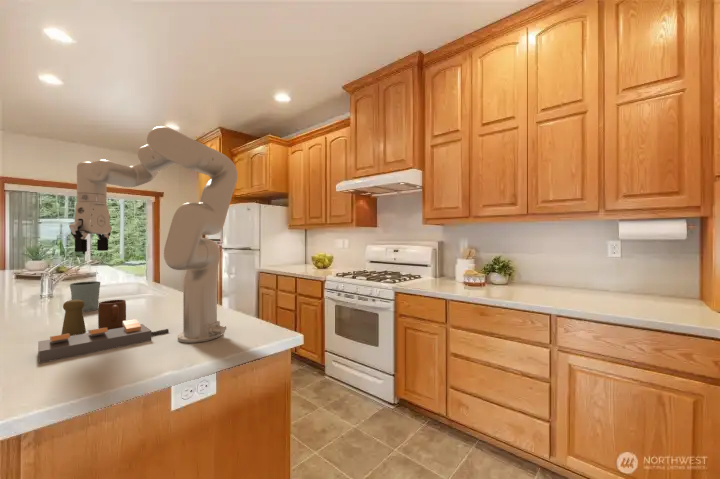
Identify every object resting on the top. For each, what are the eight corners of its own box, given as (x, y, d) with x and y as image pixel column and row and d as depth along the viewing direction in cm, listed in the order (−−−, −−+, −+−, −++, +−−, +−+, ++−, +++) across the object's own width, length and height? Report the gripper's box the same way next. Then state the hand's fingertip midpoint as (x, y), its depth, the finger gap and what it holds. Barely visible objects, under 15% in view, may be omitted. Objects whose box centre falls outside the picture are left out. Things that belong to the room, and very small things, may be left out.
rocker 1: (68, 340, 88) (67, 333, 88) (69, 340, 84) (69, 333, 84) (50, 343, 85) (50, 336, 85) (51, 343, 81) (51, 336, 81)
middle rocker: (104, 333, 93) (104, 327, 94) (107, 333, 89) (107, 327, 90) (88, 336, 91) (88, 330, 91) (91, 336, 87) (91, 330, 87)
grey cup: (96, 306, 144) (96, 280, 143) (103, 309, 138) (103, 282, 138) (67, 310, 135) (67, 283, 135) (73, 313, 129) (73, 285, 129)
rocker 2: (136, 324, 99) (136, 318, 99) (140, 331, 95) (141, 326, 95) (122, 326, 97) (122, 321, 97) (126, 334, 93) (126, 328, 93)
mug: (130, 331, 105) (130, 303, 105) (101, 336, 100) (101, 306, 100) (123, 324, 113) (123, 298, 113) (96, 328, 108) (96, 301, 108)
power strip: (163, 329, 107) (163, 320, 107) (173, 335, 100) (173, 326, 100) (38, 352, 85) (38, 341, 85) (39, 363, 78) (39, 351, 78)
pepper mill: (71, 330, 105) (71, 298, 105) (90, 330, 106) (90, 298, 106) (55, 336, 99) (55, 302, 99) (76, 335, 100) (76, 301, 100)
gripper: (84, 196, 95) (84, 252, 95) (121, 203, 113) (121, 250, 113) (57, 196, 94) (57, 252, 94) (98, 203, 112) (98, 250, 112)
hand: (92, 251), depth 103 cm, fingers open, 9 cm apart
